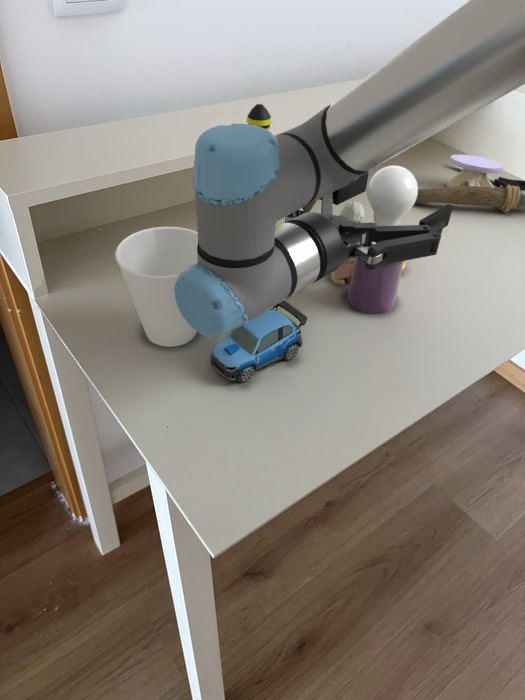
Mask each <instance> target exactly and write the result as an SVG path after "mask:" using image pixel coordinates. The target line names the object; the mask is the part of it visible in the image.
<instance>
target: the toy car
mask: <svg viewBox="0 0 525 700" xmlns="http://www.w3.org/2000/svg"><path fill="white" fill-rule="evenodd" d="M279 307H280V308H281V309H283V310H284V311H286V312H288V313H289V314H290V315H291V316H293V317H294V318H295V319H297V321H298V322H299V324H297V323H296V321H294V320H293V319H291V318H290V317H289V316H287V315H286V314H284V313H283V312H281V311H279V310H278V309H279ZM307 321H308V316H306V315H305V314H304V313H303V312H301V311H300V310H298V309H297V308H296V307H295V306H294V305H292V304H291V303H289V301H286V299H285V300H284V301H282V302H280V303H279V304H277V305H275V306H274V307H272V308H270V309H269V310H267V311H265V312H264V313H262V314H260V315H259V316H257V317H255V318H254V319H252V320H250V321H249V322H247V324H246V325H245V326H242V327H239V328H236V329H234V330H232V331H230V332H229V334H228V335H227V336H226V337H225V338H223V339H222V340H220V341H218V343H216V344H215V346H214V347H213V350H212V354H210V365H211V367H212V368H213V370H215V371H216V373H218V375H220V376H221V377H222V378H223V379H224V380H226V381H228V382H232V383H235V382H240V383H246V382H248V381H249V380H251V379H252V378H253V376H254V374H255V372H258V371H261V370H262V369H265V368H268V367H269V366H271V365H273V364H276V363H278V362H280V361H282V360H285V361H291V360H293V359H294V358H295V357H296V356H297V355H298V353H299V350H300V348H301V347H302V346H303V345H302V344H303V334H302V327H303V326H305V325H306V323H307Z"/></svg>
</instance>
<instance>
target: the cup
mask: <svg viewBox="0 0 525 700" xmlns="http://www.w3.org/2000/svg"><path fill="white" fill-rule="evenodd" d="M197 245H198V231H196V230H192V229H191V228H190V229H189V228H185V227H179V226H157V227H150V228H146V229H141V230H139V231H136V232H134V233H131V234H129V235H128V236H127V237H126V238H124V239H123V240H122V241H121V242H120V243H119V244H118V245H117V247H116V250H115V252H114V253H115V254H114V256H115V261H116V263H117V264H118V266H119V269H120V272H121V274H122V277H123V279H124V283H125V285H126V287H127V289H128V292H129V295H130V298H131V300H132V302H133V304H134V307H135V310H136V313H137V315H138V318H139V320H140V323H141V325H142V327H143V330H144V333H145V336H146V337H147V339H148V340H149V341H150V342H151V343H153V344H155V345H157V346H161V347H167V348H168V347H171V348H172V347H179V346H183V345H185V344H188V343H189V342H190V341H192V340H193V339H194V338H195V337H196V335H197V332H198V331H197V330H194V329H193V328H192V327H191V326H190V325H189V324H188V323H187V322H186V320H185V319H184V317H183V316H182V314H181V312H180V310H179V308H178V305H177V302H176V299H175V292H174V286H175V283H176V281H177V279H178V276H179V274H180V273H181V272H183V271H185V270H186V269H188V268H189V266H192V265H194V264H197V262H198V259H197Z"/></svg>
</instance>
